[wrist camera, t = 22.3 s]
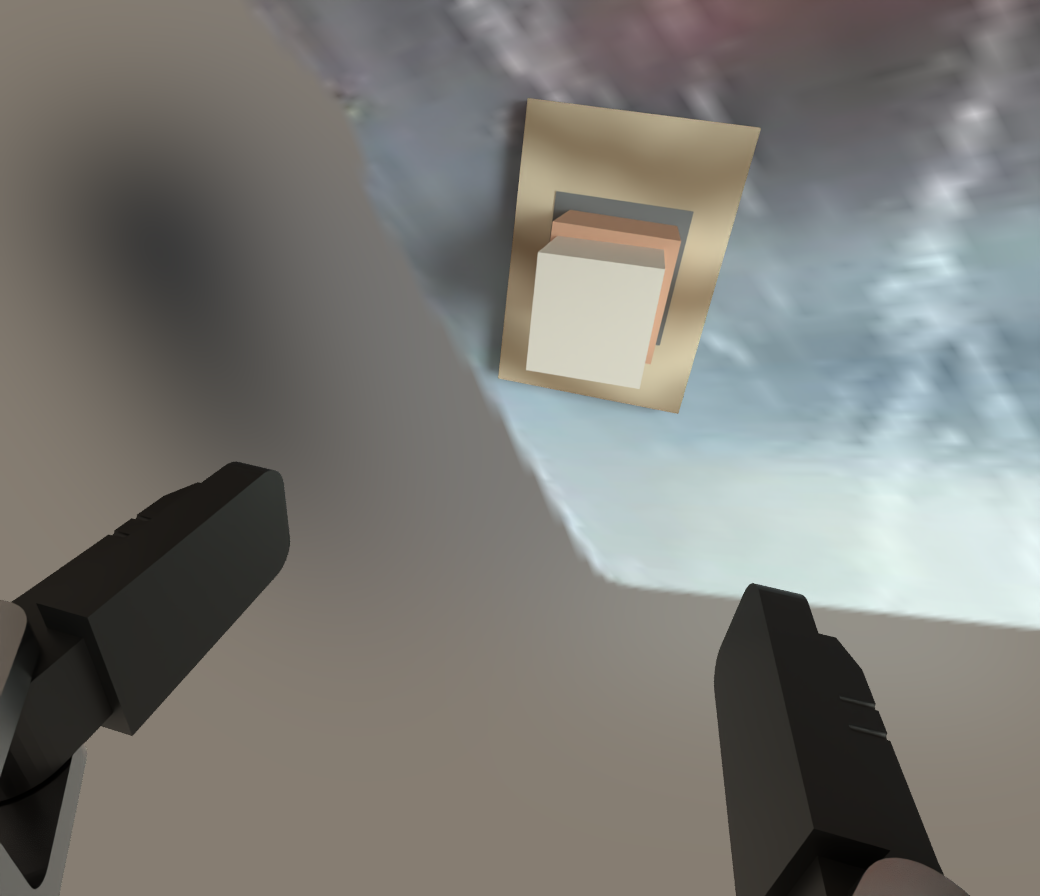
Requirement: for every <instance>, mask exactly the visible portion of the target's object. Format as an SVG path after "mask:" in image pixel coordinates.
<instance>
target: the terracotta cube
mask: <svg viewBox="0 0 1040 896" xmlns="http://www.w3.org/2000/svg"><path fill="white" fill-rule="evenodd" d="M557 236H564V237H572V238H580V239H587V240H595V241H603V242H610V243H618V244H626V245H633V246H641V247H648V248H656V249H664V259H665V273H664V277H663V282H662V287H661V291H660V296H659V301H658V305H657V310H656V315H655V319H654V324H653V328H652V333H651V338H650V342H649V347H648V352H647V356H646V361H645V363H646V364H651V361H652V357H653V353H654V349H655V345H656V341H657V337H658V333H659V329H660V325H661V321H662V317H663V313H664V309H665V305H666V301H667V297H668V293H669V289H670V285H671V281H672V277H673V272H674V268H675V264H676V260H677V256H678V252H679V248H680V244H681V238H680V235H679V231H678V227H677V226H674V225H668V224H661V223H654V222H648V221H641V220H634V219H628V218H621V217H615V216H608V215H601V214H595V213H588V212H582V211H575V210H569V211H568V212H566V213H565V214H563V215H562V216H560V217H559V218H557V219H555V220H554V221H553V223H552V231H551V238H550V242H551V241H552V240H553V239H554V238H555V237H557Z"/></svg>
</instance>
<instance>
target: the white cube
mask: <svg viewBox="0 0 1040 896" xmlns="http://www.w3.org/2000/svg"><path fill="white" fill-rule="evenodd" d="M664 273H665V259H664V249H656V248H648V247H641V246H633V245H626V244H618V243H610V242H603V241H595V240H587V239H580V238H572V237H564V236H557V237H555V238H554V239H553V240H552V241H551V242H549V243H548V244H547V245H546V246H545V247H544V248H542V249H541V250H540V251H539V252H538V257H537V267H536V277H535V286H534V296H533V306H532V315H531V325H530V335H529V345H528V354H527V364H526V370H529V371H535V372H541V373H547V374H553V375H559V376H565V377H571V378H576V379H582V380H588V381H594V382H600V383H606V384H612V385H618V386H624V387H630V388H636V389H640V384H641V380H642V375H643V370H644V366H645V361H646V356H647V352H648V347H649V342H650V338H651V333H652V328H653V324H654V319H655V315H656V310H657V305H658V301H659V296H660V291H661V287H662V282H663V277H664Z"/></svg>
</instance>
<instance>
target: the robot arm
mask: <svg viewBox="0 0 1040 896" xmlns="http://www.w3.org/2000/svg"><path fill="white" fill-rule="evenodd" d="M289 547H290V535H289V527H288V517H287V509H286V501H285V492H284V483H283V479H282V476H281V475H280V473H279V472H277V471H275V470H271V469H266V468H262V467H258V466H253V465H249V464H245V463H241V462H231V463H229V464H227V465H225V466H224V467H222V468H221V469H220V470H219V471H217V472H216V473H214V474H213V475H212V476H210V477H209V478H207V479H206V480H204V481H203V482H202V483H195V484H192V485H190V486H187V487H185V488H182V489H180V490H177V491H175V492H172V493H170V494H168V495H165V496H163V497H162V498H160V499H159V500H157V501H156V502H155V503H153V504H152V505H150V506H149V507H147V508H146V509H144V510H143V511H142V512H140V513H139V514H137V518H136V519H130V520H129V521H127V522H126V523H124V524H123V525H122V526H120V527H119V528H117V529H116V530H115V531H114V534H113V535H107V536H106V537H104V538H103V539H101V540H100V541H99V542H97V543H96V544H94V545H93V546H92V547H90V548H89V549H87V550H86V551H84V552H83V553H81V554H80V555H79V556H77V557H76V558H74V559H73V560H71V561H70V562H68V563H67V564H66V565H64V566H63V567H61V568H60V569H59V570H57V571H56V572H54V573H53V574H51V575H50V576H48V577H47V578H46V579H44V580H43V581H41V582H40V583H38V584H37V585H36V586H34V587H33V588H31V589H30V590H28V591H27V592H25V593H24V594H23V595H21V596H20V597H18V598H17V599H15V600H13V601H12V602H8V601H4V600H0V896H59V895H60V888H61V883H62V878H63V873H64V868H65V863H66V858H67V853H68V848H69V843H70V838H71V833H72V828H73V823H74V818H75V813H76V808H77V803H78V799H79V793H80V789H81V784H82V778H83V774H84V768H85V764H86V757H87V751H86V746H85V742H86V741H87V740H88V739H89V737H91V736H92V734H93V733H94V732H95V731H96V730H97V729H98V728H99V727H100V726H103V727H106V728H109V729H112V730H115V731H118V732H122V733H125V734H128V735H131V736H132V735H134V734H135V732H136V731H137V730H138V729H139V728H140V727H141V726H142V725H143V724H144V722H145V721H146V720H147V719H148V718H149V717H150V716H151V715H152V714H153V712H154V711H155V710H156V709H157V708H158V707H159V706H160V705H161V704H162V702H163V701H164V700H165V699H166V698H167V697H168V696H169V695H170V694H171V692H172V691H173V690H174V689H175V688H176V687H177V686H178V684H179V683H180V682H181V681H182V680H183V679H184V678H185V677H186V676H187V675H188V673H189V672H190V671H191V670H192V669H193V668H194V667H195V666H196V665H197V663H198V662H199V661H200V660H201V659H202V658H203V657H204V656H205V654H206V653H207V652H208V651H209V650H210V649H211V648H212V647H213V645H215V643H216V642H217V641H218V640H219V639H220V638H221V637H222V635H224V633H225V632H226V631H227V630H228V629H229V628H230V627H231V626H232V624H233V623H234V622H235V621H236V620H237V619H238V618H239V617H240V616H241V615H242V613H243V612H244V611H245V610H246V609H247V608H248V607H249V606H250V605H251V603H252V602H253V601H254V600H255V599H256V598H257V597H258V595H259V594H260V593H261V592H262V591H263V590H264V589H265V588H266V587H267V586H268V584H269V583H270V582H271V581H272V580H273V579H274V578H275V576H276V575H277V574H278V573H279V572H280V570H281V569H282V567H283V565H284V563H285V561H286V558H287V555H288V552H289ZM714 691H715V700H716V709H717V719H718V728H719V738H720V748H721V757H722V767H723V776H724V786H725V795H726V805H727V814H728V823H729V833H730V842H731V852H732V861H733V871H734V879H735V890H736V896H970V895H968V894H967V893H966V892H965V891H964V890H963V889H962V888H960V887H959V886H958V885H956V884H955V883H954V882H952V881H951V880H950V879H948V878H947V877H945V876H944V874H943V872H942V870H941V867H940V865H939V863H938V861H937V858H936V856H935V853H934V851H933V848H932V846H931V843H930V841H929V838H928V835H927V833H926V830H925V828H924V826H923V823H922V820H921V818H920V815H919V813H918V810H917V808H916V805H915V803H914V800H913V797H912V795H911V792H910V790H909V788H908V785H907V782H906V780H905V777H904V775H903V772H902V770H901V767H900V764H899V762H898V760H897V757H896V755H895V752H894V749H893V747H892V744H891V742H890V741H888V740H887V739H886V735H887V732H886V729H885V727H884V724H883V721H882V719H881V717H880V714H879V711H877V710H875V701H874V699H873V696H872V694H871V691H870V689H869V686H868V684H867V681H866V678H865V676H864V673H863V671H862V669H861V668H860V667H859V665H858V664H857V663H856V662H855V660H854V659H853V658H852V657H851V656H850V654H849V653H848V652H847V651H846V650H845V648H844V647H843V646H842V644H841V643H840V642H839V641H838V640H837V638H835V637H831V636H827V635H823V634H818V631H817V628H816V625H815V622H814V619H813V616H812V613H811V610H810V607H809V604H808V601H807V599H806V598H805V597H804V596H803V595H801V594H797V593H793V592H788V591H784V590H780V589H776V588H771V587H767V586H763V585H758V584H754V583H752V584H750V585H749V586H748V587H747V588H746V590H745V592H744V594H743V596H742V599H741V601H740V603H739V606H738V608H737V610H736V613H735V615H734V617H733V619H732V622H731V624H730V626H729V629H728V631H727V633H726V636H725V638H724V640H723V642H722V645H721V647H720V650H719V653H718V656H717V660H716V666H715V675H714Z"/></svg>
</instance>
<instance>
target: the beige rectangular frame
mask: <svg viewBox="0 0 1040 896" xmlns="http://www.w3.org/2000/svg"><path fill="white" fill-rule="evenodd" d="M760 130H761V128H757V127H750V126H742V125H734V124H726V123H718V122H710V121H703V120H695V119H687V118H679V117H671V116H663V115H656V114H648V113H640V112H632V111H624V110H616V109H608V108H601V107H593V106H585V105H577V104H569V103H561V102H554V101H546V100H538V99H530V98H528V101H527V111H526V120H525V130H524V139H523V148H522V158H521V167H520V177H519V186H518V196H517V205H516V215H515V224H514V233H513V243H512V252H511V262H510V271H509V281H508V290H507V299H506V309H505V318H504V328H503V337H502V347H501V356H500V366H499V375H498V378H500V379H505V380H510V381H515V382H520V383H525V384H530V385H535V386H540V387H545V388H550V389H555V390H560V391H566V392H571V393H576V394H581V395H586V396H591V397H596V398H601V399H606V400H611V401H616V402H621V403H626V404H631V405H636V406H642V407H647V408H652V409H657V410H662V411H667V412H672V413H677V414H678V413H679V409H680V406H681V402H682V399H683V395H684V392H685V388H686V385H687V382H688V378H689V375H690V371H691V368H692V364H693V361H694V357H695V354H696V350H697V347H698V344H699V340H700V337H701V333H702V330H703V326H704V323H705V319H706V316H707V313H708V309H709V306H710V302H711V299H712V295H713V292H714V288H715V285H716V281H717V278H718V275H719V271H720V268H721V264H722V261H723V257H724V254H725V250H726V247H727V244H728V240H729V237H730V233H731V230H732V226H733V223H734V219H735V216H736V213H737V209H738V206H739V202H740V199H741V195H742V192H743V188H744V185H745V181H746V178H747V175H748V171H749V168H750V164H751V161H752V157H753V154H754V150H755V147H756V144H757V140H758V137H759V133H760ZM569 210H575V211H582V212H588V213H595V214H601V215H608V216H615V217H621V218H628V219H634V220H641V221H648V222H654V223H661V224H668V225H674V226H677V227H678V231H679V235H680V238H681V244H680V248H679V252H678V256H677V260H676V264H675V268H674V272H673V277H672V281H671V285H670V289H669V293H668V297H667V301H666V305H665V309H664V313H663V317H662V321H661V325H660V329H659V333H658V337H657V341H656V345H655V349H654V353H653V357H652V361H651V364H646V363H645V366H644V370H643V375H642V380H641V384H640V389H636V388H630V387H624V386H618V385H612V384H606V383H600V382H594V381H588V380H582V379H576V378H571V377H565V376H559V375H553V374H547V373H541V372H535V371H529V370H526V364H527V354H528V345H529V335H530V325H531V315H532V306H533V296H534V286H535V277H536V267H537V257H538V252H539V251H540V250H541V249H542V248H544V247H545V246H546V245H547V244H548V243H549V242H550V238H551V231H552V223H553V221H554V220H555V219H557V218H559V217H560V216H562V215H563V214H565V213H566V212H568V211H569Z"/></svg>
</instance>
